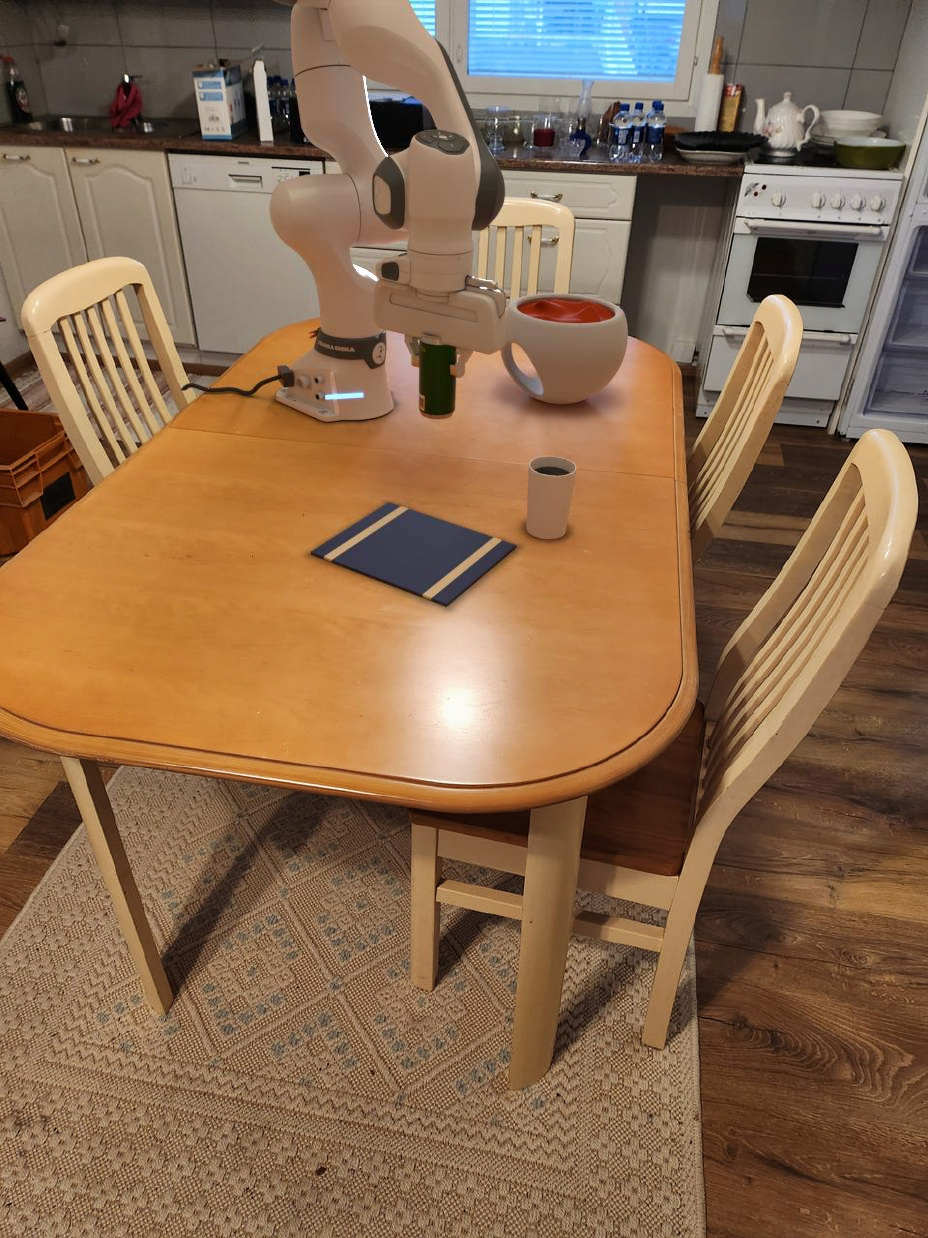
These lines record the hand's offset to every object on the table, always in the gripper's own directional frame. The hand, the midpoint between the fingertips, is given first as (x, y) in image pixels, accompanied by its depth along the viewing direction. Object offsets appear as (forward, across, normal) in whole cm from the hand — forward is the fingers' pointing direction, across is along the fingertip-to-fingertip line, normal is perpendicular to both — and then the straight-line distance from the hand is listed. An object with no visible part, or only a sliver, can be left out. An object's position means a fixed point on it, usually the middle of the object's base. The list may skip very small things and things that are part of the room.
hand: (437, 371), depth 125 cm
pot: (+19, +2, -47) cm, 51 cm away
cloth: (+18, -8, +18) cm, 27 cm away
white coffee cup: (+19, -20, +2) cm, 28 cm away
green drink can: (+7, 0, 0) cm, 7 cm away
